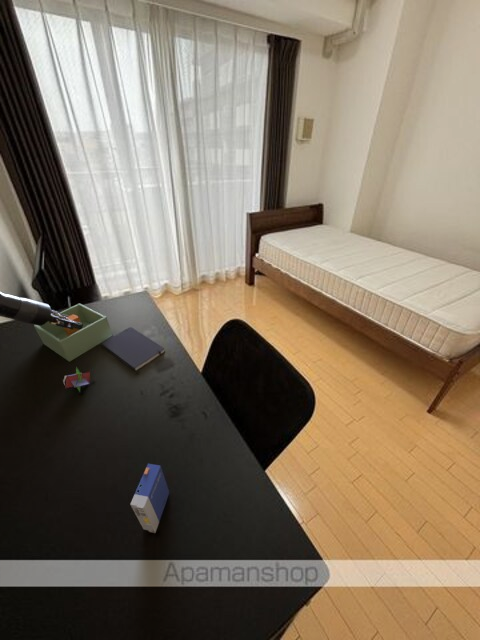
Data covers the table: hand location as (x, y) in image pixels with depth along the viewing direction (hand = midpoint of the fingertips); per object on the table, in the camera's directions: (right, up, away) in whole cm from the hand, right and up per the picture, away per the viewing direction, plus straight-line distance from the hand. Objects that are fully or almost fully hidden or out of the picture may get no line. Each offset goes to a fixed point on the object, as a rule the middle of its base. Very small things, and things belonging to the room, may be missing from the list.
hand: (75, 322), depth 105 cm
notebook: (+22, -10, -1) cm, 24 cm away
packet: (-1, -6, +3) cm, 6 cm away
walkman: (+43, -40, -44) cm, 74 cm away
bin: (-1, -6, +3) cm, 7 cm away
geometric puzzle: (+11, -20, -16) cm, 28 cm away
